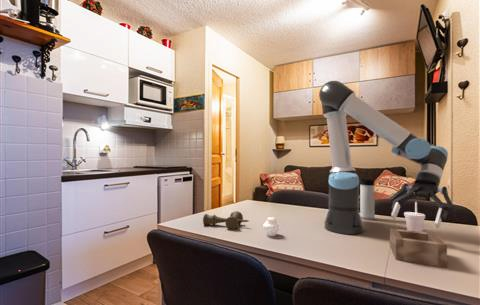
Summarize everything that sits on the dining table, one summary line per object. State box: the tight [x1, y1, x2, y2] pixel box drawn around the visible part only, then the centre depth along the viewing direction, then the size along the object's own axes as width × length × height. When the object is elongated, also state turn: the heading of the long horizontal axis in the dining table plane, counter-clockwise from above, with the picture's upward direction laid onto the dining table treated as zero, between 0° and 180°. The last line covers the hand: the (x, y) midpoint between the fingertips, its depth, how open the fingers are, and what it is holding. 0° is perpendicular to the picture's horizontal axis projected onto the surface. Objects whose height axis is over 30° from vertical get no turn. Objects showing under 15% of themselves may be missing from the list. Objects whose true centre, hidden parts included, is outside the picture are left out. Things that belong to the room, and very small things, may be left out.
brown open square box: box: [389, 228, 448, 268], centre depth 75 cm, size 12×12×6 cm
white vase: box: [262, 216, 280, 237], centre depth 94 cm, size 6×6×7 cm
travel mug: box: [359, 177, 376, 221], centre depth 122 cm, size 6×7×20 cm
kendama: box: [202, 210, 249, 231], centre depth 106 cm, size 6×10×20 cm
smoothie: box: [403, 201, 426, 232], centre depth 90 cm, size 6×6×14 cm
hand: (413, 221), depth 88 cm, fingers open, 13 cm apart
